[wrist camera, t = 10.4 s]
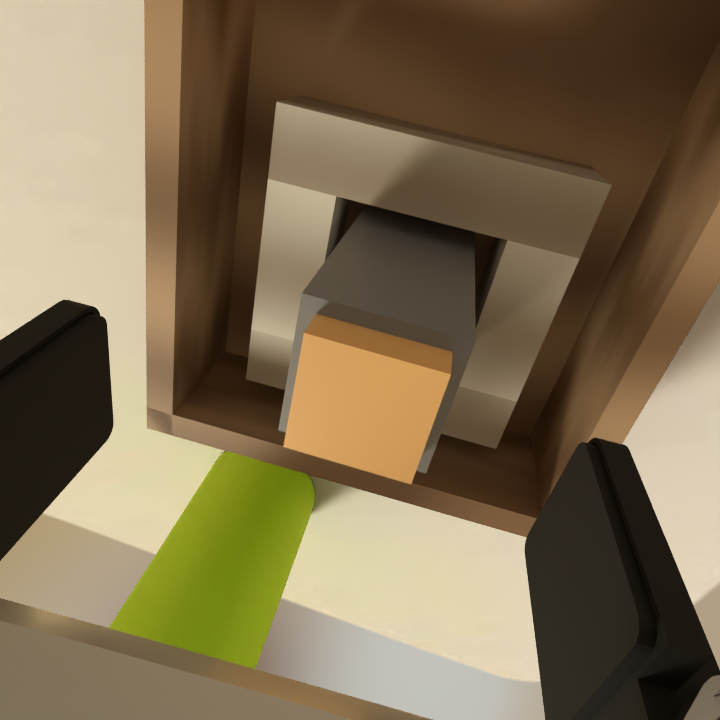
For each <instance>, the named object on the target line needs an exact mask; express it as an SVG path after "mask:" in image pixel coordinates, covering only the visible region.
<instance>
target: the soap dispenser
mask: <svg viewBox="0 0 720 720" xmlns="http://www.w3.org/2000/svg"><path fill="white" fill-rule="evenodd" d="M314 502H315V491H314V487H313V484H312V481H311V479H310V478H309V476H308V474H305V473H301V472H298V471H294V470H291V469H288V468H284V467H281V466H277V465H274V464H270V463H267V462H263V461H260V460H256V459H253V458H249V457H246V456H242V455H239V454H235V453H232V452H228V451H226V452H224V453H223V454H222V455H221V456H220V457H219V458H218V459H217V460H216V462H215V463H214V465H213V466H212V468H211V470H210V471H209V473H208V474H207V476H206V477H205V479H204V480H203V482H202V484H201V485H200V487H199V488H198V490H197V491H196V493H195V494H194V496H193V498H192V499H191V501H190V502H189V504H188V505H187V507H186V508H185V510H184V512H183V513H182V515H181V516H180V518H179V519H178V521H177V523H176V524H175V526H174V527H173V529H172V530H171V532H170V533H169V535H168V537H167V538H166V540H165V541H164V543H163V544H162V546H161V547H160V549H159V551H158V552H157V554H156V555H155V557H154V558H153V560H152V561H151V563H150V565H149V566H148V568H147V569H146V571H145V572H144V574H143V576H142V577H141V579H140V580H139V582H138V583H137V585H136V586H135V588H134V590H133V591H132V593H131V594H130V596H129V597H128V599H127V601H126V602H125V604H124V605H123V607H122V608H121V610H120V612H119V613H118V615H117V616H116V618H115V619H114V621H113V622H112V624H111V626H110V627H109V628H110V629H114V630H117V631H121V632H125V633H128V634H132V635H135V636H139V637H142V638H146V639H150V640H153V641H157V642H160V643H164V644H167V645H171V646H174V647H178V648H182V649H185V650H189V651H192V652H196V653H199V654H203V655H207V656H210V657H214V658H217V659H221V660H224V661H228V662H232V663H235V664H239V665H242V666H246V667H249V668H253V669H256V666H257V663H258V660H259V658H260V655H261V652H262V649H263V646H264V644H265V641H266V638H267V635H268V632H269V630H270V627H271V624H272V621H273V618H274V616H275V613H276V610H277V607H278V604H279V602H280V599H281V596H282V593H283V590H284V588H285V585H286V582H287V579H288V576H289V574H290V571H291V568H292V565H293V562H294V560H295V557H296V554H297V551H298V548H299V546H300V543H301V540H302V537H303V534H304V532H305V529H306V526H307V523H308V520H309V518H310V515H311V512H312V509H313V506H314Z"/></svg>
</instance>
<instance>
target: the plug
mask: <svg viewBox="0 0 720 720" xmlns="http://www.w3.org/2000/svg"><path fill="white" fill-rule="evenodd" d="M475 342H476V323H475V236H474V232H473V231H470V230H466V229H462V228H458V227H454V226H450V225H446V224H442V223H438V222H434V221H431V220H427V219H423V218H419V217H415V216H411V215H407V214H403V213H399V212H395V211H392V210H388V209H384V208H380V207H376V206H372V205H368V204H367V205H366V206H365V208H364V209H363V211H362V212H361V213H360V215H359V216H358V217H357V219H356V220H355V221H354V223H353V224H352V225H351V227H350V228H349V230H348V231H347V232H346V234H345V235H344V236H343V238H342V239H341V240H340V242H339V243H338V245H337V246H336V247H335V249H334V250H333V251H332V253H331V254H330V255H329V257H328V258H327V260H326V261H325V262H324V264H323V265H322V266H321V268H320V269H319V270H318V272H317V273H316V274H315V276H314V277H313V279H312V280H311V281H310V283H309V284H308V285H307V287H306V288H305V289H304V291H303V292H302V295H301V300H300V306H299V312H298V318H297V324H296V330H295V335H294V341H293V347H292V353H291V359H290V365H289V370H288V376H287V382H286V388H285V394H284V399H283V405H282V411H281V417H280V423H279V429H278V430H279V431H282V432H286V434H285V440H284V445H283V447H286V448H289V449H292V450H296V451H299V452H303V453H306V454H309V455H313V456H316V457H320V458H323V459H326V460H330V461H333V462H336V463H340V464H343V465H347V466H350V467H353V468H357V469H360V470H364V471H367V472H370V473H374V474H377V475H381V476H384V477H387V478H391V479H394V480H398V481H401V482H404V483H408V484H412V481H413V478H414V475H415V473H416V471H419V472H422V473H426V472H427V470H428V467H429V464H430V462H431V459H432V456H433V454H434V451H435V448H436V446H437V443H438V440H439V438H440V435H441V432H442V430H443V427H444V424H445V422H446V419H447V416H448V414H449V411H450V409H451V406H452V403H453V401H454V398H455V395H456V393H457V390H458V387H459V385H460V382H461V379H462V377H463V374H464V371H465V369H466V366H467V363H468V361H469V358H470V355H471V353H472V350H473V348H474V345H475Z"/></svg>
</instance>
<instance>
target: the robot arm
mask: <svg viewBox="0 0 720 720" xmlns="http://www.w3.org/2000/svg"><path fill="white" fill-rule="evenodd" d="M112 428H113V409H112V394H111V379H110V364H109V348H108V333H107V323H106V320H105V318H104V317H102V316H100V313H99V311H98V309H96V308H95V307H93V306H89V305H85V304H81V303H77V302H73V301H70V300H62V301H60V302H58V303H57V304H55V305H54V306H52V307H51V308H49V309H48V310H46V311H44V312H43V313H41V314H40V315H38V316H37V317H35V318H34V319H32V320H31V321H29V322H28V323H26V324H25V325H23V326H21V327H20V328H18V329H17V330H15V331H14V332H12V333H11V334H9V335H8V336H6V337H5V338H3V339H1V340H0V561H1V559H2V558H3V557H4V556H5V555H6V554H7V553H8V551H9V550H10V549H11V548H12V547H13V546H14V545H15V544H16V542H17V541H18V540H19V539H20V538H21V537H22V536H23V534H24V533H25V532H26V531H27V530H28V529H29V528H30V526H31V525H32V524H33V523H34V522H35V521H36V520H37V519H38V518H39V516H40V515H41V514H42V513H43V512H44V511H45V510H46V509H47V507H48V506H49V505H50V504H51V503H52V502H53V501H54V500H55V498H56V497H57V496H58V495H59V494H60V493H61V492H62V491H63V489H64V488H65V487H66V486H67V485H68V484H69V483H70V481H71V480H72V479H73V478H74V477H75V476H76V475H77V474H78V472H79V471H80V470H81V469H82V468H83V467H84V466H85V465H86V463H87V462H88V461H89V460H90V459H91V458H92V457H93V456H94V454H95V453H96V452H97V451H98V450H99V449H100V448H101V446H102V445H103V444H104V443H105V442H106V441H107V439H108V438H109V436H110V434H111V432H112ZM525 558H526V566H527V574H528V582H529V590H530V599H531V607H532V615H533V623H534V631H535V639H536V647H537V655H538V663H539V671H540V679H541V687H542V696H543V703H544V712H545V720H720V670H719V667H718V665H717V662H716V660H715V657H714V655H713V653H712V650H711V648H710V645H709V643H708V640H707V638H706V635H705V633H704V631H703V628H702V626H701V623H700V621H699V619H698V616H697V614H696V611H695V609H694V606H693V604H692V601H691V599H690V596H689V594H688V592H687V589H686V587H685V584H684V582H683V579H682V577H681V575H680V572H679V570H678V567H677V565H676V562H675V560H674V557H673V555H672V553H671V550H670V548H669V545H668V543H667V540H666V538H665V536H664V534H663V531H662V529H661V526H660V524H659V521H658V519H657V517H656V514H655V512H654V509H653V507H652V504H651V502H650V499H649V497H648V495H647V492H646V490H645V487H644V485H643V482H642V480H641V477H640V475H639V473H638V470H637V468H636V465H635V463H634V460H633V458H632V456H631V453H630V451H629V449H628V447H627V446H625V445H623V444H619V443H615V442H611V441H607V440H604V439H600V438H592V439H591V440H590V441H589V442H588V443H585V442H581V443H580V444H578V446H577V447H576V449H575V451H574V452H573V454H572V456H571V458H570V460H569V461H568V463H567V465H566V467H565V469H564V470H563V472H562V474H561V476H560V478H559V479H558V481H557V483H556V485H555V487H554V488H553V490H552V492H551V494H550V496H549V497H548V499H547V501H546V503H545V504H544V506H543V508H542V510H541V512H540V513H539V515H538V517H537V519H536V521H535V522H534V524H533V526H532V528H531V530H530V531H529V533H528V536H527V539H526V543H525ZM0 720H431V719H428V718H425V717H421V716H417V715H414V714H411V713H407V712H404V711H400V710H397V709H393V708H390V707H386V706H383V705H379V704H376V703H372V702H369V701H365V700H361V699H358V698H355V697H351V696H348V695H345V694H341V693H337V692H334V691H331V690H327V689H323V688H320V687H316V686H313V685H309V684H306V683H302V682H299V681H295V680H292V679H288V678H285V677H281V676H278V675H274V674H270V673H267V672H263V671H260V670H256V669H253V668H249V667H246V666H242V665H239V664H235V663H232V662H228V661H224V660H221V659H217V658H214V657H210V656H207V655H203V654H199V653H196V652H192V651H189V650H185V649H182V648H178V647H174V646H171V645H167V644H164V643H160V642H157V641H153V640H150V639H146V638H142V637H139V636H135V635H132V634H128V633H125V632H121V631H117V630H114V629H110V628H106V627H103V626H99V625H95V624H91V623H88V622H84V621H80V620H77V619H74V618H70V617H66V616H63V615H59V614H55V613H51V612H48V611H45V610H41V609H37V608H34V607H30V606H26V605H23V604H19V603H15V602H12V601H8V600H4V599H1V598H0Z"/></svg>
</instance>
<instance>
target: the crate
mask: <svg viewBox="0 0 720 720" xmlns="http://www.w3.org/2000/svg"><path fill="white" fill-rule="evenodd" d="M144 4H145V174H146V344H147V428H148V429H152V430H155V431H159V432H162V433H166V434H169V435H173V436H176V437H180V438H183V439H187V440H190V441H194V442H197V443H201V444H204V445H208V446H211V447H214V448H218V449H221V450H225V451H228V452H232V453H235V454H239V455H242V456H246V457H249V458H253V459H256V460H260V461H263V462H267V463H270V464H274V465H277V466H281V467H284V468H288V469H291V470H294V471H298V472H301V473H305V474H308V475H312V476H315V477H319V478H322V479H326V480H329V481H333V482H336V483H340V484H343V485H347V486H350V487H354V488H357V489H361V490H364V491H368V492H371V493H374V494H378V495H381V496H385V497H388V498H392V499H395V500H399V501H402V502H406V503H409V504H413V505H416V506H420V507H423V508H427V509H430V510H434V511H437V512H441V513H444V514H447V515H451V516H454V517H458V518H461V519H465V520H468V521H472V522H475V523H479V524H482V525H486V526H489V527H493V528H496V529H500V530H503V531H507V532H510V533H514V534H517V535H521V536H524V537H527V536H528V533H529V531H530V530H531V528H532V526H533V524H534V522H535V521H536V519H537V517H538V515H539V513H540V512H541V510H542V508H543V506H544V504H545V503H546V501H547V499H548V497H549V496H550V494H551V492H552V490H553V488H554V487H555V485H556V483H557V481H558V479H559V478H560V476H561V474H562V472H563V470H564V469H565V467H566V465H567V463H568V461H569V460H570V458H571V456H572V454H573V452H574V451H575V449H576V447H577V446H578V444H580V443H581V442H585V443H588V442H589V441H590V440H591V439H592V438H600V439H604V440H607V441H611V442H615V443H619V444H622V443H623V441H624V440H625V438H626V436H627V435H628V433H629V431H630V430H631V428H632V426H633V425H634V423H635V421H636V420H637V418H638V416H639V415H640V413H641V411H642V409H643V408H644V406H645V404H646V403H647V401H648V399H649V398H650V396H651V394H652V393H653V391H654V389H655V388H656V386H657V384H658V383H659V381H660V379H661V378H662V376H663V374H664V373H665V371H666V369H667V368H668V366H669V364H670V362H671V361H672V359H673V357H674V356H675V354H676V352H677V351H678V349H679V347H680V346H681V344H682V342H683V341H684V339H685V337H686V336H687V334H688V332H689V331H690V329H691V327H692V326H693V324H694V322H695V321H696V319H697V317H698V315H699V314H700V312H701V310H702V309H703V307H704V305H705V304H706V302H707V300H708V299H709V297H710V295H711V294H712V292H713V290H714V289H715V287H716V285H717V284H718V282H719V280H720V0H144ZM367 204H368V205H372V206H376V207H380V208H384V209H388V210H392V211H395V212H399V213H403V214H407V215H411V216H415V217H419V218H423V219H427V220H431V221H434V222H438V223H442V224H446V225H450V226H454V227H458V228H462V229H466V230H470V231H473V232H474V236H475V323H476V342H475V345H474V348H473V350H472V353H471V355H470V358H469V361H468V363H467V366H466V369H465V371H464V374H463V377H462V379H461V382H460V385H459V387H458V390H457V393H456V395H455V398H454V401H453V403H452V406H451V409H450V411H449V414H448V416H447V419H446V422H445V424H444V427H443V430H442V432H441V435H440V438H439V440H438V443H437V446H436V448H435V451H434V454H433V456H432V459H431V462H430V464H429V467H428V470H427V472H426V473H422V472H419V471H416V473H415V475H414V478H413V481H412V484H408V483H404V482H401V481H398V480H394V479H391V478H387V477H384V476H381V475H377V474H374V473H370V472H367V471H364V470H360V469H357V468H353V467H350V466H347V465H343V464H340V463H336V462H333V461H330V460H326V459H323V458H320V457H316V456H313V455H309V454H306V453H303V452H299V451H296V450H292V449H289V448H286V447H283V445H284V440H285V434H286V432H282V431H279V430H278V429H279V423H280V417H281V411H282V405H283V399H284V394H285V388H286V382H287V376H288V370H289V365H290V359H291V353H292V347H293V341H294V335H295V330H296V324H297V318H298V312H299V306H300V300H301V295H302V292H303V291H304V289H305V288H306V287H307V285H308V284H309V283H310V281H311V280H312V279H313V277H314V276H315V274H316V273H317V272H318V270H319V269H320V268H321V266H322V265H323V264H324V262H325V261H326V260H327V258H328V257H329V255H330V254H331V253H332V251H333V250H334V249H335V247H336V246H337V245H338V243H339V242H340V240H341V239H342V238H343V236H344V235H345V234H346V232H347V231H348V230H349V228H350V227H351V225H352V224H353V223H354V221H355V220H356V219H357V217H358V216H359V215H360V213H361V212H362V211H363V209H364V208H365V206H366V205H367Z"/></svg>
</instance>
